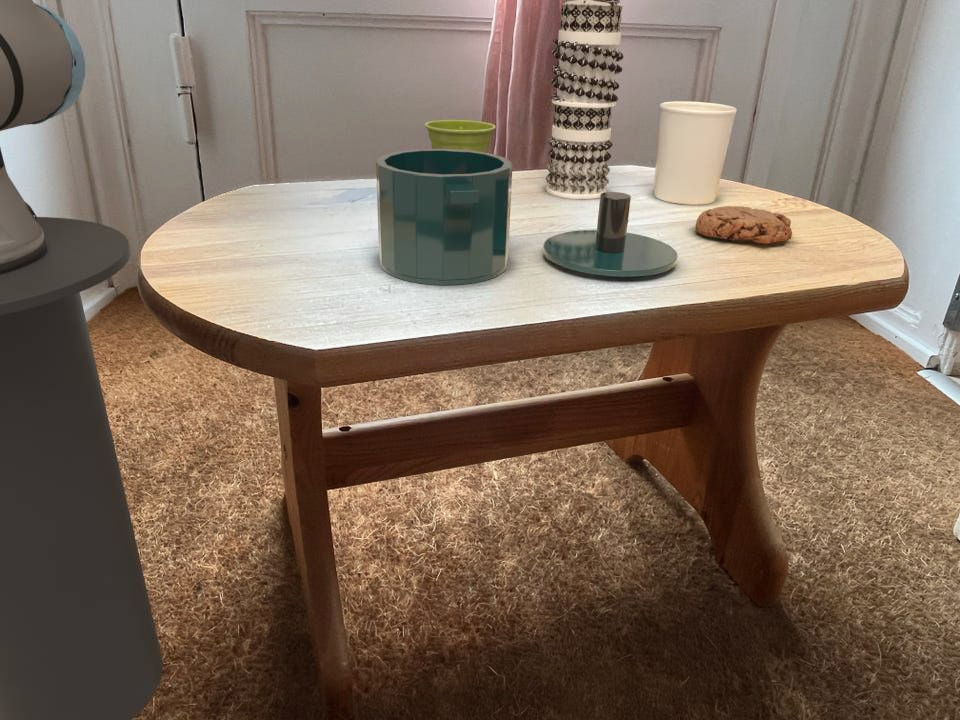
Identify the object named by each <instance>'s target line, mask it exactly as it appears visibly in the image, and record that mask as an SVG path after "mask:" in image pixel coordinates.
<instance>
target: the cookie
mask: <svg viewBox="0 0 960 720" xmlns="http://www.w3.org/2000/svg"><path fill="white" fill-rule="evenodd" d="M791 220H792V219H790V218H789V217H787V216H786V215H785V214H783V213H782V214H781V213H779V212H773V213H772V211H769V210H765V209H758V208H751V207H749V206H743V205H741V206H740V205H739V206H737V205H725V206H717V207H713V208H709V209H706V210H703V211H702V212H701V213H700V214H699V215H698V216H697V218H696V222H695V232H696V233H699V234H701V235H703V236H704V237H705V236H706V237H709V238H710V237H714V238H719V239H725V240H726V241H729V240H730V241H738V240H749V239H750V240H752V242H755V243H757V244H771V243H777V242H788V241H789V240H791V239H792V237H793V231H792V227H791V226H792V225H791V224H792V221H791Z"/></svg>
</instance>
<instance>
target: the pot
mask: <svg viewBox="0 0 960 720" xmlns="http://www.w3.org/2000/svg"><path fill="white" fill-rule="evenodd" d="M513 165H514V163H513V162H512V161H511V160H509V159H508V158H506V157H505V156H501V155H497V154H493V153H490V152H487V153H484V152H477V151H470V150H455V149H432V148H419V149H410V150H409V149H408V150H398V151H394V152H390V153H386V154H383V155H381V156H380V157H378V158H376V159H375V167H376V168H375V171H376V172H375V174H376V175H375V177H376V204H377V205H376V207H377V209H376V210H377V234H378V235H377V236H378V238H377V239H378V257H379V264H380V265H379V266H380V268H381V269H382V270H383V271H384V272H385V273H386V274H388V275H389V276H392V277H395V278H397V279H400V280H403V281H407V282H412V283H416V284H423V285H432V286H433V285H435V286H455V285H456V286H459V285H468V284H475V283H476V284H477V283H480V282H484V281H488V280H491V279H494V278H496V277H498V276H500V275H501V274H503V273H504V272H505V271H506V269H507V267H508V261H509V249H510V229H511V228H510V227H511V207H512V206H511V205H512V187H513V186H512V185H513V167H514V166H513Z"/></svg>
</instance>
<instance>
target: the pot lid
mask: <svg viewBox="0 0 960 720" xmlns="http://www.w3.org/2000/svg"><path fill="white" fill-rule="evenodd" d="M631 201H632V196H631V195H630V194H628V193H624V192H620V191H619V192H618V191H607V192H605V193H602V194H601V195H600V198H599V204H598V205H599V206H598V213H597V215H598V216H597V225H596V229H584V230H583V229H582V230H572V231H566V232H561V233H557V234H555V235H552V236H549V237H548V238H547V239H546V240H545V241H544V243H543V245H542V246H543V247H542V252H543V255H544V256H545V257H546V258H547V259H548V261H550V262H552V263H554V264H556V265H558V266H560V267H563V268H565V269H569V270H572V271H575V272H580V273H584V274H590V275H598V276H606V277H617V278H618V277H622V278H623V277H625V278H626V277H627V278H629V277H631V278H632V277H646V276H652V275H653V276H654V275H657V274H661V273H665V272H668V271H669V270H671V269H673V268H674V267H675V266H676V264H677V262H678V252H677V250H676V249H675V248H674V247H672V246H670V245H669V244H667V243H666V242H664V241H661V240H659V239H656V238H653V237H650V236H646V235H642V234H637V233H633V232H628V224H629V217H630V215H629V214H630V210H631V209H630V208H631Z"/></svg>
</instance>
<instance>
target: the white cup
mask: <svg viewBox="0 0 960 720" xmlns="http://www.w3.org/2000/svg"><path fill="white" fill-rule="evenodd" d="M658 108H659V116H658V126H657V127H658V128H657V130H658V131H657V142H656V152H655V153H656V155H655V167H654V179H653V181H654V182H653V185H654V186H653V195H654V197H655V198H656V199H658V200H660V201H663V202H664V201H665V202H668V203H672V204H678V205H688V206H690V205H691V206H692V205H693V206H696V205H697V206H699V205H701V206H702V205H709V204H711V203H714V202H715V201H716V198H717V195H718V191H719V187H720V183H721V179H722V174H723V171H724V166H725V161H726V157H727V152H728V148H729V145H730V140H731V136H732V133H733V132H732V131H733V127H734V121H735V119H736V115H737V112H738V109H737V107H734V106H731V105H728V104H722V103H714V102H705V101H703V102H702V101H685V100H684V101H682V100H681V101H679V100H678V101H665V102H661V103H660V104H659V107H658Z"/></svg>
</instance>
